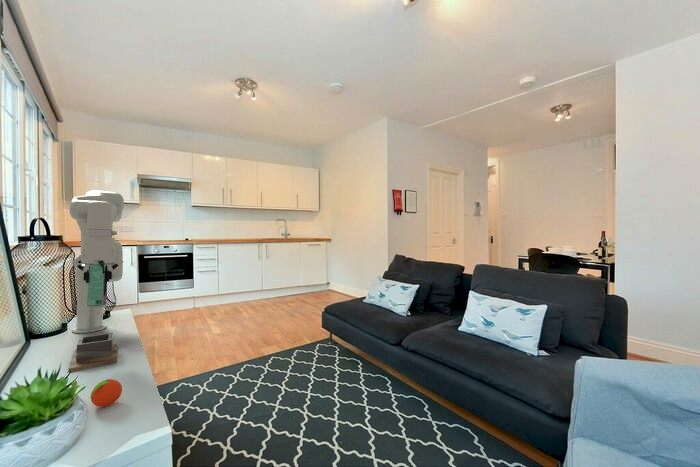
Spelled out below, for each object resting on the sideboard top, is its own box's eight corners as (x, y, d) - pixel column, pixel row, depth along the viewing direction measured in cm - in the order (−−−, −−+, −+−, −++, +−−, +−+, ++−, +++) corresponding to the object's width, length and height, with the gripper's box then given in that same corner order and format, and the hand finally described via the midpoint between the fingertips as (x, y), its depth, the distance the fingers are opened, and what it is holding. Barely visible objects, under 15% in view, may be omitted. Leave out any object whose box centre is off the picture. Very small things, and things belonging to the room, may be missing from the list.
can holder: (74, 352, 119) (75, 333, 119) (116, 345, 126) (117, 328, 126) (68, 372, 103) (68, 350, 103) (116, 363, 111) (117, 343, 111)
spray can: (109, 305, 117) (111, 253, 117) (96, 308, 112) (98, 254, 111) (97, 304, 118) (99, 252, 117) (83, 307, 112) (85, 253, 112)
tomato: (100, 416, 80) (101, 389, 80) (79, 412, 81) (80, 386, 81) (127, 400, 88) (128, 375, 88) (107, 397, 89) (108, 372, 89)
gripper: (127, 234, 123) (125, 279, 123) (70, 233, 112) (68, 281, 112) (128, 235, 117) (126, 281, 117) (67, 233, 106) (65, 285, 106)
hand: (97, 281), depth 115 cm, fingers closed on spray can, 5 cm apart
